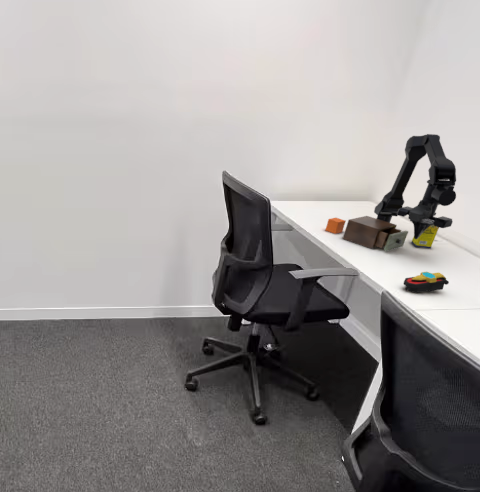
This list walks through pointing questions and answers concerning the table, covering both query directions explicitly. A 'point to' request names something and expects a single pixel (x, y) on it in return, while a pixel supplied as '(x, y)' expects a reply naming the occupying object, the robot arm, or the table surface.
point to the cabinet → (365, 230)
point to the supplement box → (426, 237)
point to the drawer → (390, 238)
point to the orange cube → (335, 225)
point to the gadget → (425, 282)
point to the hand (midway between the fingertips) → (415, 238)
